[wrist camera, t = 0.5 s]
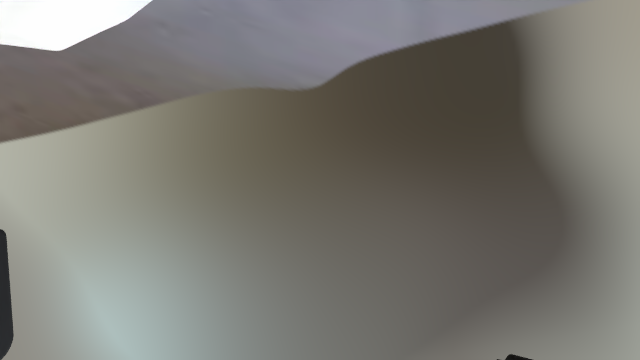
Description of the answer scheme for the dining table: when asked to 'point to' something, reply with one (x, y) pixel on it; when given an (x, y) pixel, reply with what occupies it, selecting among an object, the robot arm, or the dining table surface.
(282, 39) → the dining table surface
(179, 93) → the dining table surface
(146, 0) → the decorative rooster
